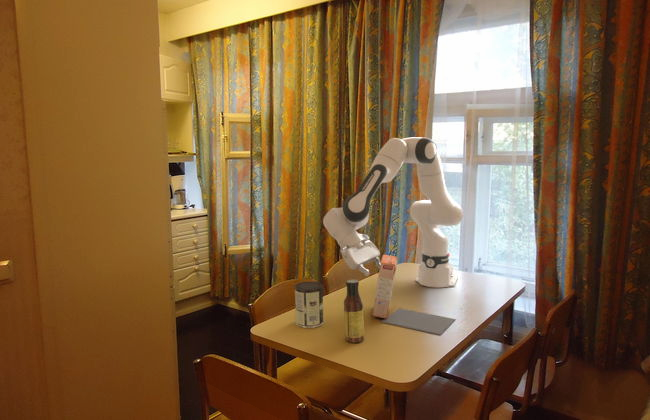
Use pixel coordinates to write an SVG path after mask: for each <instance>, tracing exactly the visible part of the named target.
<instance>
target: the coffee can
mask: <svg viewBox="0 0 650 420" xmlns="http://www.w3.org/2000/svg"><path fill="white" fill-rule="evenodd" d="M323 290H324V284H323V283H322V282H319V281H318V282H317V281H302V282H299V283H298V282H297V283H296V284H295V285H294V297H295V298H294V299H295V300H294V302H295V303H294V304H295V325H296V326H297V325H298V326H297V327H299V326H300V327H299V328H302V327H303V329H314V328H315V327H316V328H319V327H321V326H323V324H324V323H325V321H324V297H323V296H324V293H323ZM316 328H315V329H316Z"/></svg>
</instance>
